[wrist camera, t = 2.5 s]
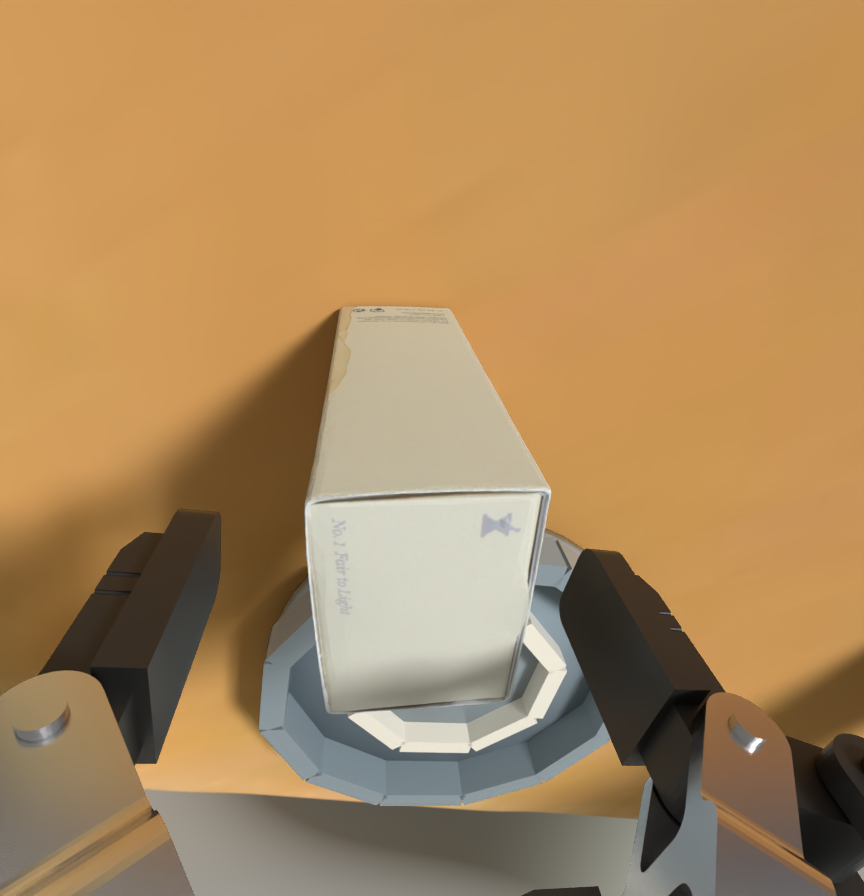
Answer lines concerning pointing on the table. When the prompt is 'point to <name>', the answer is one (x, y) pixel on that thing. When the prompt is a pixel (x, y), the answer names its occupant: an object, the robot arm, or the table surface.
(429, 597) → the skincare box
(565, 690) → the ring tray
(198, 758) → the table surface
